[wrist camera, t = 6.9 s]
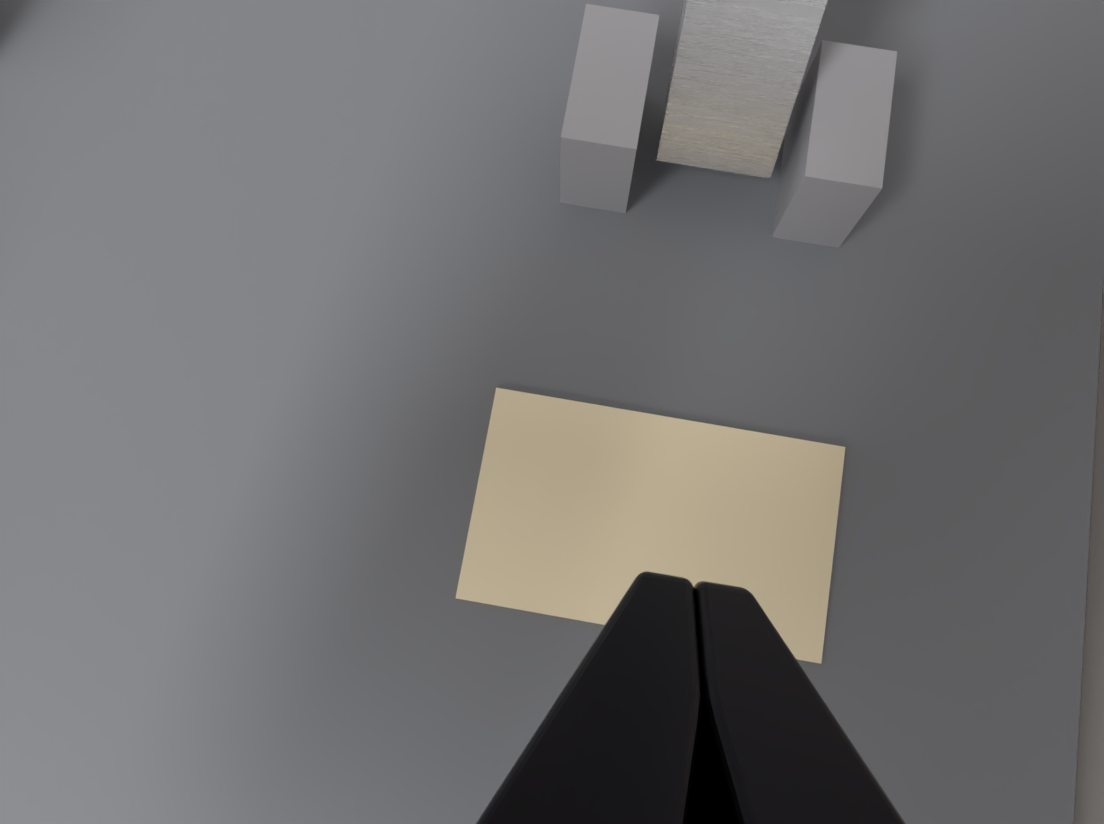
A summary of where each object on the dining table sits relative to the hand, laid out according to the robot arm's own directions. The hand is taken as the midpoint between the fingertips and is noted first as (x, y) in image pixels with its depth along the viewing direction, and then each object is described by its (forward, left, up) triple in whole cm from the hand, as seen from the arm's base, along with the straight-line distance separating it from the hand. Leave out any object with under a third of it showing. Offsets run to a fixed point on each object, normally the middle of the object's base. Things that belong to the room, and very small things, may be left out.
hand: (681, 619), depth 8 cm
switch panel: (+3, +7, -7) cm, 11 cm away
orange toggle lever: (+7, 0, -5) cm, 9 cm away
